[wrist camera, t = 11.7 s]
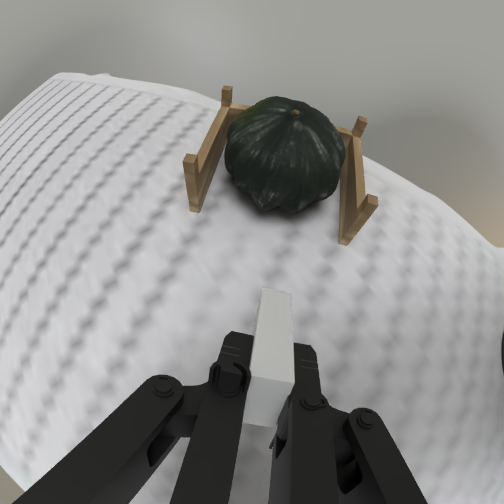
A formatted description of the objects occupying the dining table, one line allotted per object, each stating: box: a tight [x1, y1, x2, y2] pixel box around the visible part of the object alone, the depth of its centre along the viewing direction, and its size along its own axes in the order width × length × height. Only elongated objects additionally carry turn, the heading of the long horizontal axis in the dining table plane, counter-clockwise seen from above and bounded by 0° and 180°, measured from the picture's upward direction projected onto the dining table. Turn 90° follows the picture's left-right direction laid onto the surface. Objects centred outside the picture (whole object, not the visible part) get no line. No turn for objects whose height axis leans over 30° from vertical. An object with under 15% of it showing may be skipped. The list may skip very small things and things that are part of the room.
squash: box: [224, 96, 345, 213], centre depth 32 cm, size 14×15×15 cm
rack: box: [183, 86, 378, 245], centre depth 34 cm, size 20×16×9 cm
